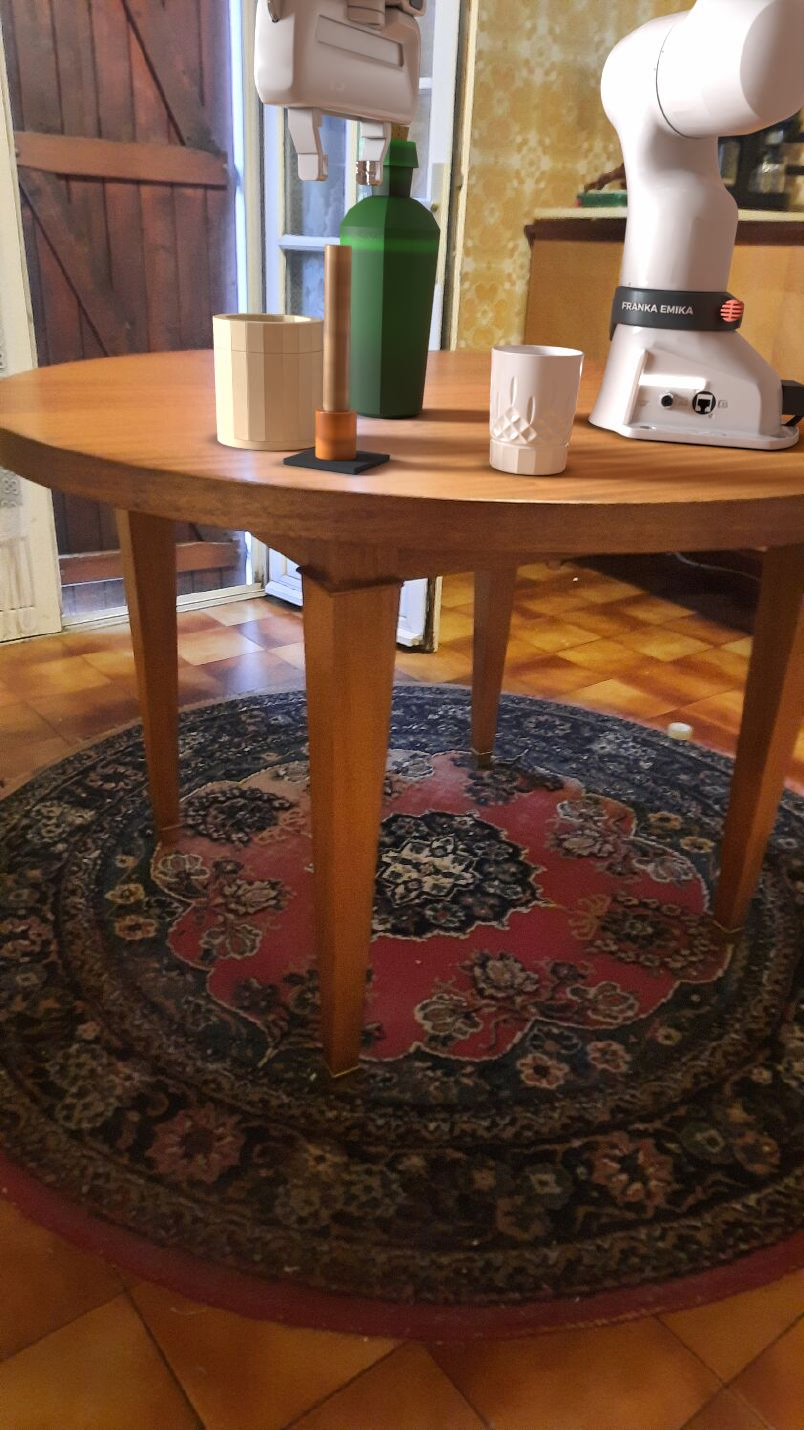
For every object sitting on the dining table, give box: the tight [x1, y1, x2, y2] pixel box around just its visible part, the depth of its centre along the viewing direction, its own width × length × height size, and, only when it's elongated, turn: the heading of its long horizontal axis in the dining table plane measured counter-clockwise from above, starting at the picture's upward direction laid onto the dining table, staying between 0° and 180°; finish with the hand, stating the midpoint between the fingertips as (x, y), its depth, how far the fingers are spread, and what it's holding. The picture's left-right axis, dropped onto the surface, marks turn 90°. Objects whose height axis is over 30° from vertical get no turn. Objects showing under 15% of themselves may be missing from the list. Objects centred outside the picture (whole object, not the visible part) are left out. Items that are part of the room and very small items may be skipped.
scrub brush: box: [314, 244, 358, 461], centre depth 86 cm, size 4×4×17 cm
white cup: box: [489, 344, 585, 476], centre depth 89 cm, size 8×8×10 cm
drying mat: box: [282, 447, 391, 475], centre depth 90 cm, size 7×7×1 cm
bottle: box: [338, 125, 442, 419], centre depth 109 cm, size 11×11×28 cm
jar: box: [212, 312, 324, 452], centre depth 96 cm, size 10×10×11 cm
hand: (342, 183), depth 81 cm, fingers open, 8 cm apart
